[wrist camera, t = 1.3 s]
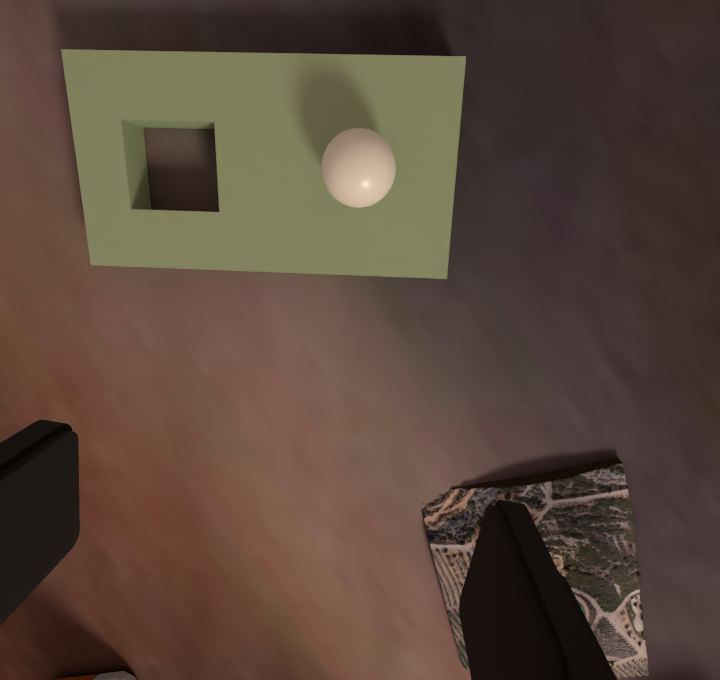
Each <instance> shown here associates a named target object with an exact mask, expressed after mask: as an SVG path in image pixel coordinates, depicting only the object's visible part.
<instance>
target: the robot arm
mask: <svg viewBox="0 0 720 680" xmlns="http://www.w3.org/2000/svg"><path fill="white" fill-rule="evenodd" d="M79 531H80V521H79V457H78V435H77V434H76V433H75V432H73V431H72V428H71V426H70V425H68V424H65V423H59V422H53V421H48V420H39V421H36V422H34V423H33V424H31V425H29V426H28V427H26V428H24V429H23V430H21V431H19V432H18V433H16V434H14V435H13V436H11V437H9V438H8V439H6V440H4V441H3V442H1V443H0V626H1V625H2V624H3V623H4V622H5V620H6V619H7V618H8V617H9V616H10V615H11V614H12V613H13V612H14V611H15V610H16V609H17V607H18V606H19V605H20V604H21V603H22V602H23V601H24V600H25V599H26V598H27V597H28V596H29V594H30V593H31V592H32V591H33V590H34V589H35V588H36V587H37V586H38V585H39V584H40V583H41V581H42V580H43V579H44V578H45V577H46V576H47V575H48V574H49V573H50V572H51V571H52V570H53V568H54V567H55V566H56V565H57V564H58V563H59V562H60V561H61V560H62V559H63V558H64V557H65V555H66V554H67V553H68V552H69V551H70V550H71V549H72V548H73V546H74V545H75V543H76V541H77V539H78V536H79ZM459 616H460V622H461V627H462V632H463V637H464V642H465V648H466V653H467V658H468V663H469V668H470V673H471V679H472V680H617V678H616V676H615V674H614V672H613V670H612V668H611V666H610V664H609V662H608V660H607V658H606V656H605V654H604V652H603V650H602V648H601V646H600V644H599V642H598V640H597V638H596V637H595V635H594V633H593V631H592V629H591V627H590V625H589V623H588V621H587V619H586V617H585V615H584V613H583V611H582V609H581V607H580V605H579V603H578V601H577V599H576V597H575V595H574V593H573V591H572V589H571V587H570V585H569V583H568V582H567V580H566V579H565V577H564V576H563V575H561V574H560V573H559V571H558V569H557V567H556V565H555V563H554V561H553V559H552V557H551V555H550V553H549V551H548V549H547V547H546V545H545V543H544V541H543V539H542V537H541V535H540V533H539V531H538V529H537V527H536V525H535V523H534V521H533V519H532V517H531V515H530V513H529V511H528V509H527V507H526V505H525V504H522V503H517V502H511V501H505V500H497V501H496V503H495V505H488V506H487V508H486V511H485V514H484V517H483V521H482V524H481V528H480V531H479V534H478V538H477V541H476V545H475V548H474V551H473V555H472V558H471V562H470V565H469V568H468V572H467V575H466V579H465V582H464V585H463V589H462V592H461V596H460V601H459Z"/></svg>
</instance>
